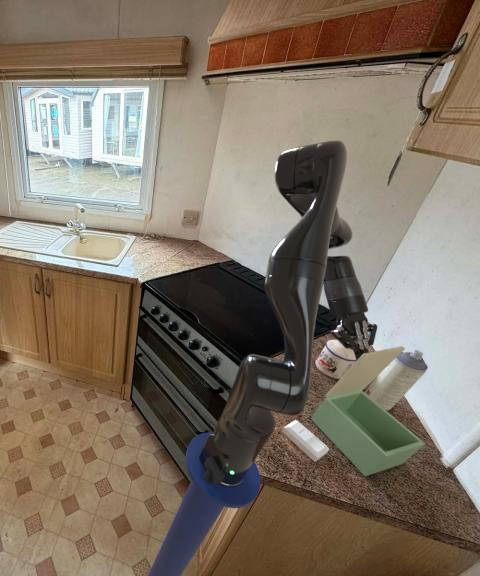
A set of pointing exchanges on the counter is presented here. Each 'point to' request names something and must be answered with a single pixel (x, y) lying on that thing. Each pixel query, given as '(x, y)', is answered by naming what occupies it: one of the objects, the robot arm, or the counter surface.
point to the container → (365, 432)
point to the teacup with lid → (335, 359)
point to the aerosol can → (397, 379)
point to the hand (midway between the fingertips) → (364, 364)
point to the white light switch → (305, 440)
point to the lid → (364, 371)
